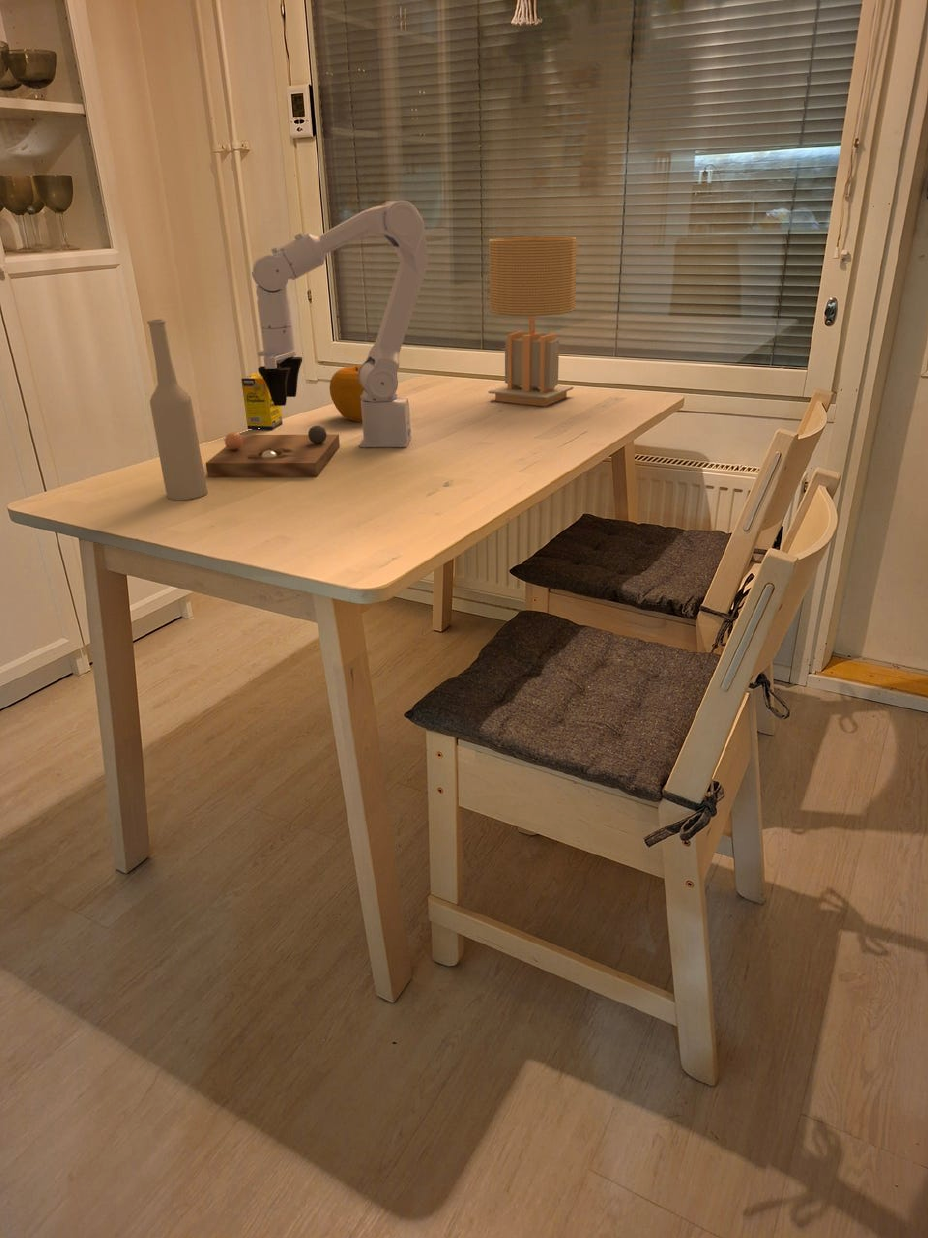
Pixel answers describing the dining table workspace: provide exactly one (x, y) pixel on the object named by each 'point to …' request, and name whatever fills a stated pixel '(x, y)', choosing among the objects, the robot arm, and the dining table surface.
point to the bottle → (174, 425)
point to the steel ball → (269, 454)
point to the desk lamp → (532, 311)
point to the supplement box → (259, 404)
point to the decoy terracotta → (233, 441)
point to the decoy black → (317, 434)
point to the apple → (347, 393)
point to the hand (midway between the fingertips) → (285, 400)
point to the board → (291, 461)
